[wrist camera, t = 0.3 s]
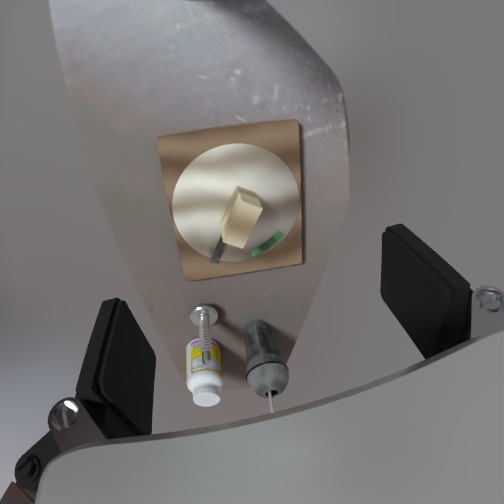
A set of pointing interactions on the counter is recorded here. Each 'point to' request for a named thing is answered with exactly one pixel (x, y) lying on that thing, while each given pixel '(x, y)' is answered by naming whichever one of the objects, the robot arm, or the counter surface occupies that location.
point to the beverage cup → (264, 362)
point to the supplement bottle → (204, 374)
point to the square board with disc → (221, 190)
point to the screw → (204, 328)
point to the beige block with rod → (238, 220)
